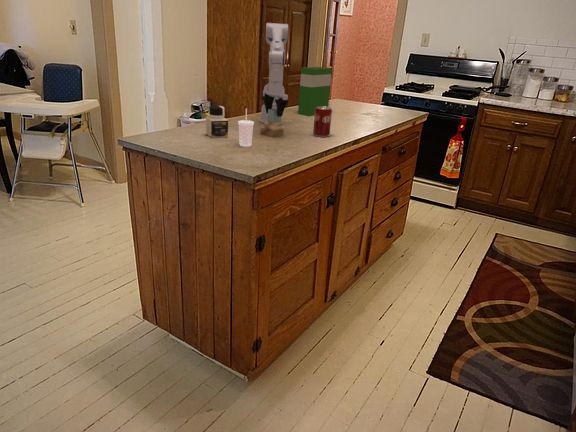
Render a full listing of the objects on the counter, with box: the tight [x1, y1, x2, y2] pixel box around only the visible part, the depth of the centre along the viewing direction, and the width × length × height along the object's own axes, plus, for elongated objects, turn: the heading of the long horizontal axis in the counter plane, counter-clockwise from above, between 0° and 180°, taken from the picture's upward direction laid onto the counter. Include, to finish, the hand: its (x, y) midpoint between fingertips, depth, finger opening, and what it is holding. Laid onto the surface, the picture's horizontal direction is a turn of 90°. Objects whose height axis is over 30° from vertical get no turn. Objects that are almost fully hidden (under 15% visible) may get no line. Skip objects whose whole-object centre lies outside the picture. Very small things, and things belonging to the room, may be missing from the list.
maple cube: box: [264, 121, 283, 130], centre depth 187 cm, size 5×5×3 cm
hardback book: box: [297, 66, 333, 117], centre depth 237 cm, size 18×7×24 cm, turn 141°
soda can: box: [312, 106, 333, 138], centre depth 190 cm, size 7×7×12 cm
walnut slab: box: [259, 126, 285, 138], centre depth 188 cm, size 7×7×3 cm
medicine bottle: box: [205, 104, 229, 139], centre depth 178 cm, size 7×7×12 cm
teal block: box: [268, 109, 282, 123], centre depth 186 cm, size 4×4×5 cm
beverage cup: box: [237, 108, 255, 148], centre depth 166 cm, size 6×6×14 cm
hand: (274, 114), depth 185 cm, fingers open, 7 cm apart
